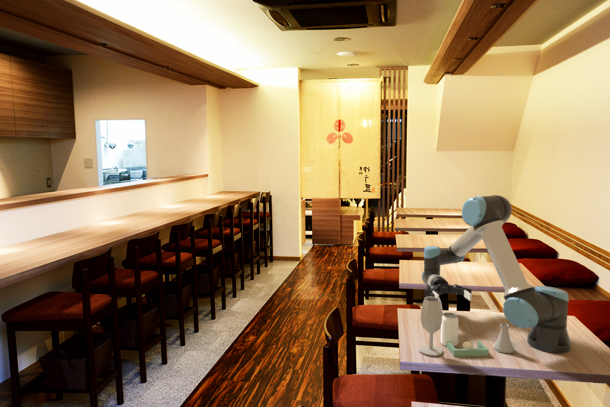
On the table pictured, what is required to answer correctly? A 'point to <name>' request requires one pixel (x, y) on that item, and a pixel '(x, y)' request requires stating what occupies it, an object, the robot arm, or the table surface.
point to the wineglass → (431, 323)
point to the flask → (504, 340)
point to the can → (449, 329)
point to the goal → (468, 350)
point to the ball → (467, 345)
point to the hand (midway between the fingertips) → (454, 298)
